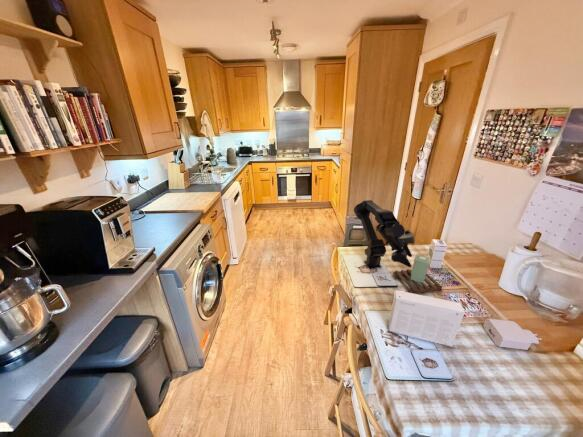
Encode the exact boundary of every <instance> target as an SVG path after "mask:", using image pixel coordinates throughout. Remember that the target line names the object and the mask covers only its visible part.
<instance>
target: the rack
mask: <svg viewBox="0 0 583 437" xmlns="http://www.w3.org/2000/svg"><path fill="white" fill-rule="evenodd" d="M411 271H412V269H409V268H407V269H406V270H405V269H400V270H399V271H398V270H395V271H393V272H392V278H394V279H400V280H402V281H403V283H405V284H406V285H407V287H409V288H408V290H407V292H408V293H413V294H418V295H423V294H428V293H435V292H441V291H442V289H443V286H442V284H440V283H439V282H438V281H437V280H435V279H434V278H433V277H432V276H431V275H430V274H429V273H428V272H427V273H426V276H425V280H424V283H421V282H417V281H414V280H411ZM406 278H407V279H406ZM409 281H410V282H411V283H410V282H409ZM430 281H431V282H430ZM413 285H414V286H415V287H414V286H413Z"/></svg>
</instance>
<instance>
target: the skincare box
mask: <svg viewBox="0 0 583 437" xmlns="http://www.w3.org/2000/svg"><path fill="white" fill-rule="evenodd" d="M465 314H466V312H465V309H464V307H463V305H462V303H461V302H457V301H453V300H448V299H442V298H438V297H433V296H428V295H423V294H413V293H408V291H402V290H397V289H395V290H394V293H393V300H392V304H391V309H390V312H389V318H388V331H389V332H392V333H396V334H400V335H404V336H407V337H410V338H411V337H412V338H415V339H419V340H423V341H427V342H431V343H435V344H439V345H442V346H447V347H451V348H452V347H453V346H454V343H455V340H456V338H457V335H458V333H459V330H460V328H461V327H460V326H461V324H462V321H463V318H464V317H465V316H464V315H465Z"/></svg>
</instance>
